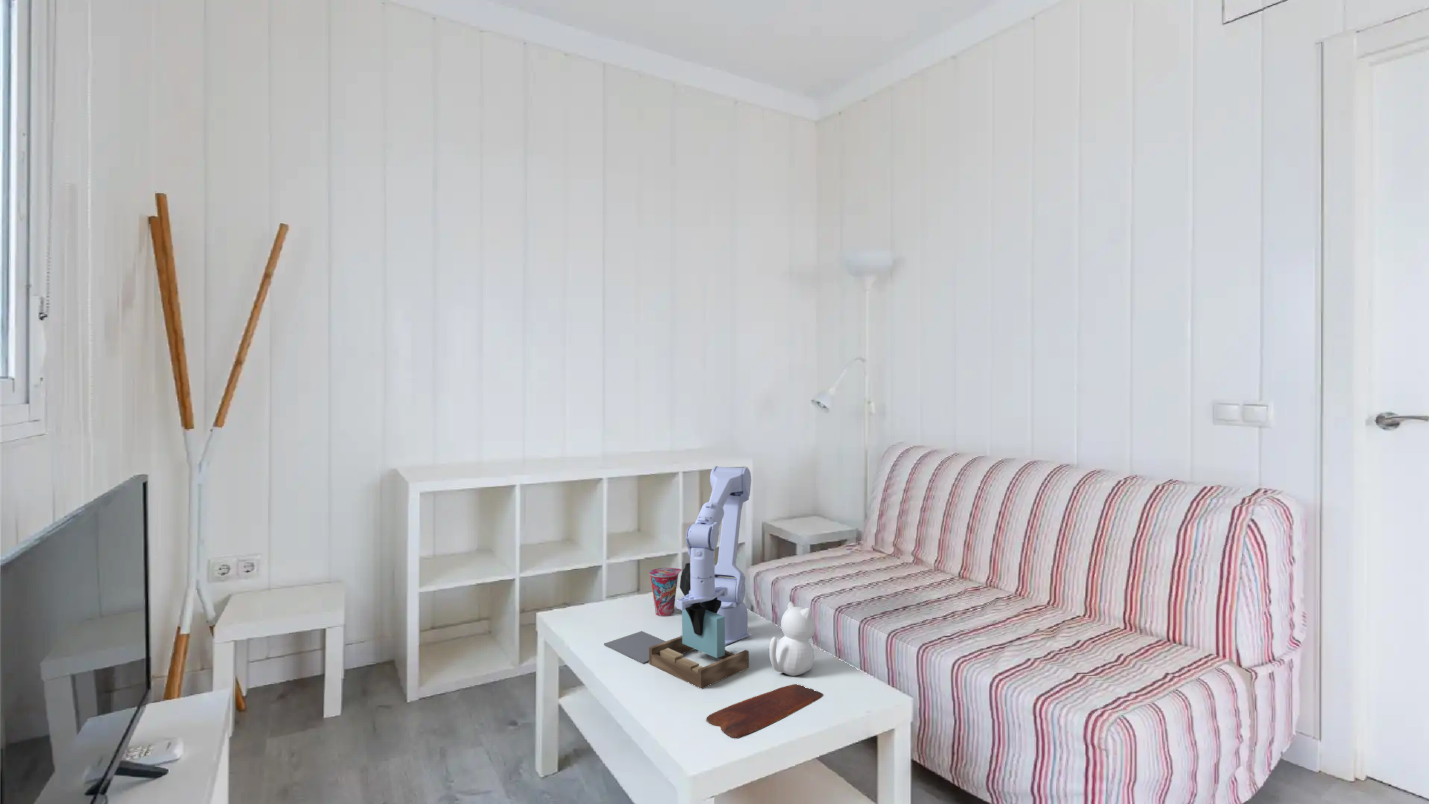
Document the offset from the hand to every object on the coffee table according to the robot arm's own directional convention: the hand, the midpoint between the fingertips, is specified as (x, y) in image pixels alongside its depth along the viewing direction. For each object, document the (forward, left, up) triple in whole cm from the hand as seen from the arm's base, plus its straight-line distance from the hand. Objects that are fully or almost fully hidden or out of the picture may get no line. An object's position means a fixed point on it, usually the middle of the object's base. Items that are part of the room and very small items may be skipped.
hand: (703, 632), depth 164 cm
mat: (+4, -18, -8) cm, 20 cm away
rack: (+2, 0, -8) cm, 8 cm away
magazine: (-24, -27, -8) cm, 37 cm away
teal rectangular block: (0, 0, -4) cm, 4 cm away
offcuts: (+6, 0, -8) cm, 10 cm away
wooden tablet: (+5, +25, -8) cm, 27 cm away
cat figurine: (-12, +17, -8) cm, 22 cm away
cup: (-16, -33, -8) cm, 37 cm away
